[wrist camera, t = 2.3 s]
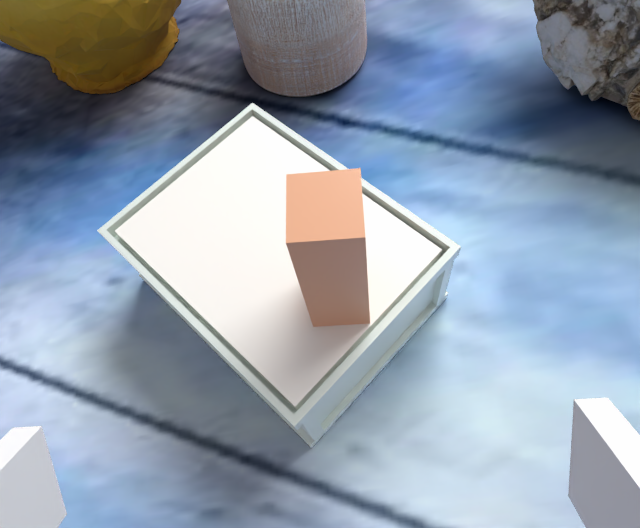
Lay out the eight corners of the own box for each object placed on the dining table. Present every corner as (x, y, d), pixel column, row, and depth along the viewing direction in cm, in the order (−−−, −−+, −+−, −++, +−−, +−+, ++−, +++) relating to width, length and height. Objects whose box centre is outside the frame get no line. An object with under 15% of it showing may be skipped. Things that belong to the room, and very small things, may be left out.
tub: (446, 297, 35) (460, 246, 29) (311, 448, 32) (294, 426, 25) (271, 167, 42) (252, 102, 35) (143, 280, 38) (97, 230, 32)
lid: (440, 256, 30) (464, 142, 21) (297, 410, 27) (256, 349, 18) (255, 124, 36) (214, -7, 27) (120, 237, 33) (26, 130, 24)
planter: (350, 110, 44) (342, 7, 35) (228, 93, 46) (193, -8, 37) (379, 21, 48) (379, -90, 40) (267, 9, 50) (244, -97, 42)
